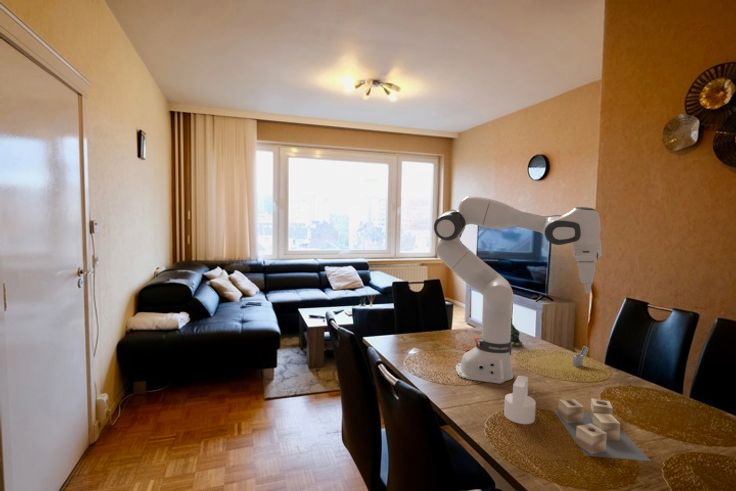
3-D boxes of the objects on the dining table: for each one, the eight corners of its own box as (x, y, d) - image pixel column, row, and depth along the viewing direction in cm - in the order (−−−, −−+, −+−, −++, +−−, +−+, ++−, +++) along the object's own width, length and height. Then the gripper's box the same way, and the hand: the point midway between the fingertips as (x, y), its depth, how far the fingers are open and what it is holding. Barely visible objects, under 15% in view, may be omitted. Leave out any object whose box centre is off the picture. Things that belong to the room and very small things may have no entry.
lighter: (575, 366, 161) (576, 348, 160) (572, 365, 162) (573, 347, 162) (588, 364, 163) (589, 346, 162) (584, 363, 165) (585, 345, 164)
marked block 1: (567, 423, 114) (568, 406, 114) (558, 414, 119) (558, 398, 119) (583, 422, 115) (584, 406, 114) (573, 414, 120) (574, 398, 119)
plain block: (600, 439, 106) (601, 422, 106) (592, 429, 111) (593, 413, 111) (619, 440, 105) (620, 423, 105) (610, 430, 110) (611, 414, 110)
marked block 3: (591, 454, 99) (592, 435, 99) (575, 443, 104) (576, 425, 104) (605, 451, 101) (606, 432, 100) (589, 440, 105) (590, 422, 105)
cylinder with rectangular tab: (532, 429, 112) (534, 390, 111) (501, 420, 117) (502, 382, 116) (536, 416, 120) (538, 379, 119) (507, 408, 124) (508, 373, 124)
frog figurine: (485, 338, 199) (486, 316, 198) (517, 337, 201) (518, 316, 200) (500, 350, 181) (501, 326, 180) (536, 349, 183) (537, 325, 182)
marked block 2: (592, 420, 116) (593, 404, 116) (590, 413, 121) (591, 397, 120) (611, 424, 114) (612, 407, 114) (608, 416, 119) (609, 400, 118)
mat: (585, 457, 99) (585, 455, 99) (552, 411, 123) (552, 409, 122) (651, 463, 97) (651, 461, 97) (605, 415, 120) (605, 413, 120)
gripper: (579, 246, 145) (580, 281, 147) (574, 257, 128) (576, 296, 130) (598, 246, 141) (599, 282, 143) (596, 257, 125) (597, 297, 126)
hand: (588, 289), depth 136 cm, fingers open, 8 cm apart
